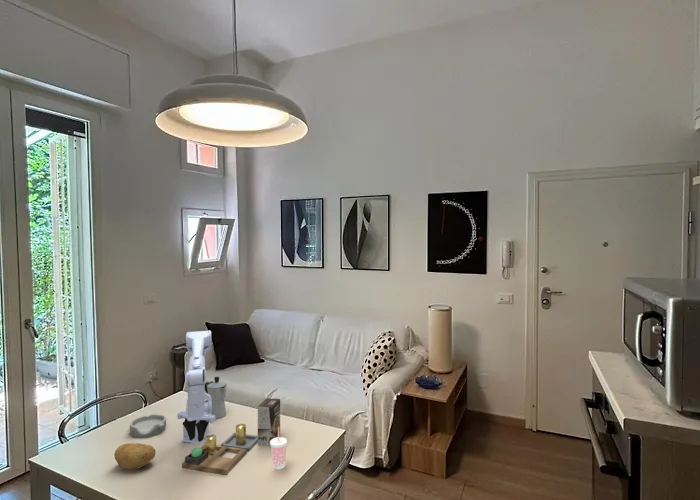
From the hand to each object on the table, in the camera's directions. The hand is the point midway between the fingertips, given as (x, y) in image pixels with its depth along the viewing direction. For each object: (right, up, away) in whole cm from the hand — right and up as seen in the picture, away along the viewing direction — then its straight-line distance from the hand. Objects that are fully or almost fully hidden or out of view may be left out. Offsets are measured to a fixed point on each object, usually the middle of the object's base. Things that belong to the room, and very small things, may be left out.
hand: (196, 439), depth 141 cm
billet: (+12, -9, +15) cm, 21 cm away
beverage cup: (+30, -10, 0) cm, 31 cm away
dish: (-31, -10, +27) cm, 42 cm away
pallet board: (+6, -9, +3) cm, 11 cm away
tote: (+12, -9, +15) cm, 21 cm away
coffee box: (+23, -9, +17) cm, 30 cm away
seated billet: (+3, -9, +7) cm, 12 cm away
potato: (-22, -10, -1) cm, 24 cm away
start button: (0, -6, 0) cm, 6 cm away
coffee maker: (-8, -9, +42) cm, 44 cm away
